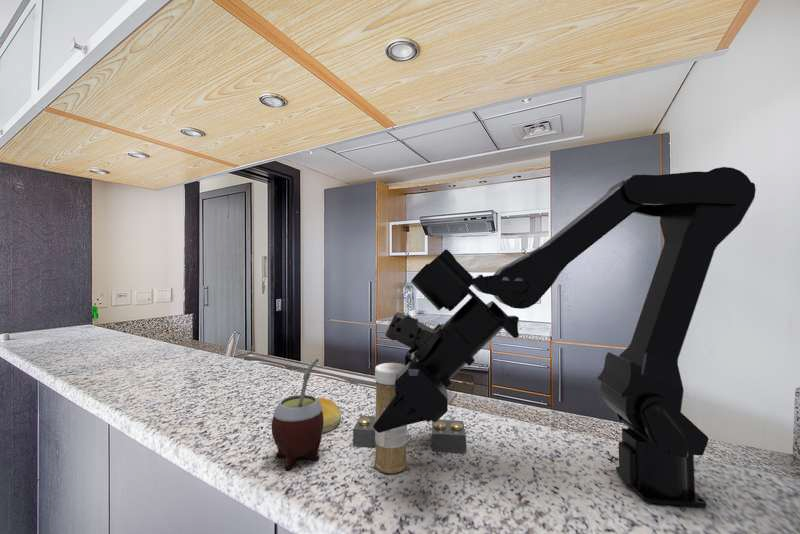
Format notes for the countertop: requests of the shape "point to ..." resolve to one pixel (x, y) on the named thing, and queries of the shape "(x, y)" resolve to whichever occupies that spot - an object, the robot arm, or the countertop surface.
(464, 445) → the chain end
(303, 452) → the mate gourd
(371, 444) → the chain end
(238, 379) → the countertop surface
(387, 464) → the sprinkles bottle
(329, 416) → the bread roll
